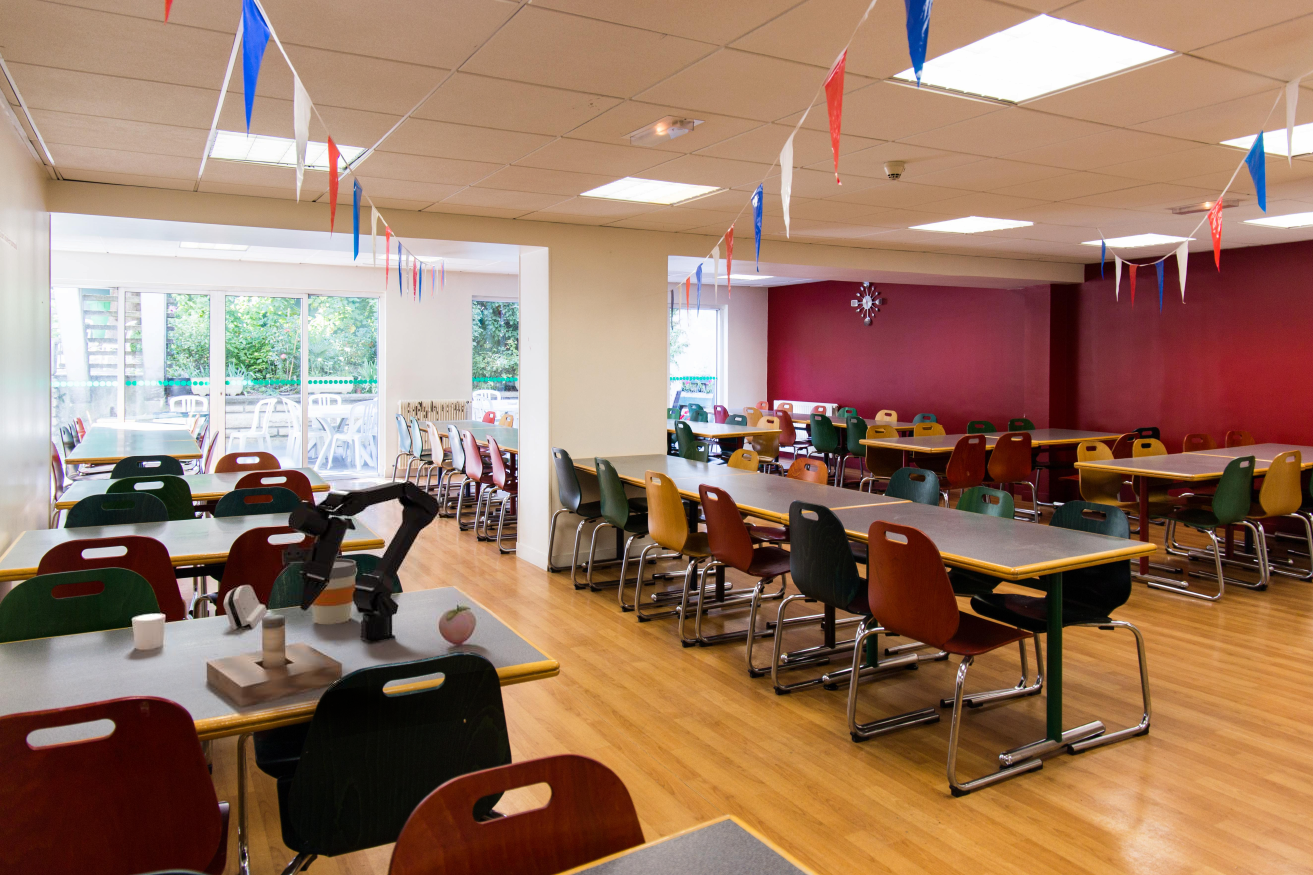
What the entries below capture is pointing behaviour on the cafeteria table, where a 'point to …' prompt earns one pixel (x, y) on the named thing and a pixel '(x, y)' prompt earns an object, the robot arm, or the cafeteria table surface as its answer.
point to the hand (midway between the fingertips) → (303, 609)
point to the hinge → (243, 607)
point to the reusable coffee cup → (336, 594)
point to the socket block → (272, 674)
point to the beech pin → (273, 641)
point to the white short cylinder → (148, 631)
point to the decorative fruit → (457, 625)
